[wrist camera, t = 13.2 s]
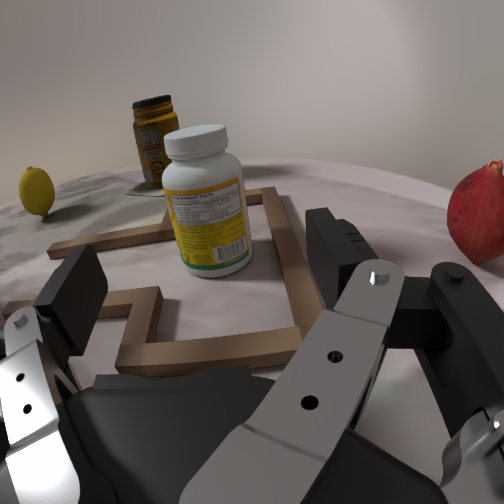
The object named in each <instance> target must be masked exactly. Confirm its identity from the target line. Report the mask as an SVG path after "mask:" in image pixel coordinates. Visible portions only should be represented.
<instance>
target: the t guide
mask: <svg viewBox="0 0 504 504" xmlns="http://www.w3.org/2000/svg"><path fill="white" fill-rule="evenodd" d="M245 196H246V203H247V205H250V204H258V203H263V205H264V209H265V213H266V216H267V220H268V223H269V227H270V231H271V234H272V238H273V242H274V246H275V249H276V253H277V257H278V260H279V264H280V268H281V272H282V276H283V279H284V283H285V287H286V291H287V295H288V298H289V302H290V306H291V310H292V314H293V318H294V322H295V326H296V327H289V328H283V329H276V330H269V331H262V332H255V333H247V334H239V335H231V336H223V337H214V338H204V339H194V340H184V341H172V342H160V343H154V339H155V334H156V329H157V324H158V319H159V315H160V310H161V305H162V301H163V296H162V293H161V290H160V287H159V286H154V287H146V288H137V289H129V290H120V291H111V292H107V295H106V298H105V300H104V302H103V305H102V307H101V310H100V312H99V315H98V317H97V318H110V317H122V316H129V318H128V321H127V324H126V327H125V331H124V334H123V338H122V341H121V344H120V348H119V352H118V355H117V359H116V362H115V368H116V369H117V371H118V372H119V374H131V375H136V376H141V377H162V376H180V375H189V374H192V373H195V372H199V371H202V370H205V369H211V368H220V367H229V366H237V365H245V364H249V368H250V369H253V368H261V367H268V366H275V365H282V364H288V363H289V362H290V360H291V359H292V357H293V356H294V354H295V352H296V351H297V349H298V348H299V346H300V345H301V343H302V342H303V340H304V339H305V337H306V335H307V334H308V332H309V331H310V329H311V328H312V326H313V324H314V323H315V321H316V320H317V318H318V316H319V315H320V313H321V312H322V311H323V308H322V305H321V302H320V299H319V297H318V294H317V291H316V289H315V286H314V283H313V281H312V278H311V276H310V273H309V270H308V268H307V265H306V263H305V260H304V258H303V255H302V252H301V250H300V247H299V245H298V242H297V240H296V237H295V235H294V232H293V230H292V227H291V225H290V222H289V220H288V217H287V215H286V213H285V210H284V208H283V205H282V203H281V200H280V198H279V196H278V193H277V191H276V188H275V187H267V188H259V189H252V190H245ZM171 239H176V238H175V234H174V229H173V226H172V222H171V218H170V214H169V210H168V208H167V210H166V213H165V215H164V218H163V221H162V223H160V224H154V225H148V226H142V227H137V228H131V229H125V230H120V231H114V232H109V233H103V234H98V235H93V236H87V237H82V238H77V239H72V240H67V241H62V242H57V243H53V244H52V245H51V246H50V247H49V249H48V250H47V253H48V255H49V258H50V259H55V258H61V257H66V256H67V255H68V253H69V252H70V251H71V249H72V248H74V247H79V246H84V245H91V246H92V247H93V248H94V250H95V252H96V251H102V250H108V249H114V248H120V247H126V246H132V245H139V244H145V243H151V242H158V241H164V240H171ZM34 302H35V300H26V301H15V302H9V303H8V305H7V306H6V308H5V309H4V311H3V313H2V315H3V317H4V318H5V320H6V321H7V320H8V318H9V317H10V316H11V315H12V314H13V313H14V312H16V311H17V310H19V309H21V308H23V307H27V306H31V307H32V305H33V303H34Z"/></svg>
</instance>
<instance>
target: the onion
mask: <svg viewBox="0 0 504 504" xmlns="http://www.w3.org/2000/svg"><path fill="white" fill-rule="evenodd" d="M502 169H503V163H502V161H501V160H498V159H493V160H491V161H490V162H489V163H488V164H487V165H485V166H483V167H482V168H481V169H478V170H476V171H474V172H472V173H471V174H469V175H468V176H466V177H465V178H464V179H463V180H462V181H461V182H460V183H459V184H458V185H457V187H456V188H455V190H454V191H453V193H452V195H451V198H450V201H449V205H448V212H447V226H448V230H449V233H450V236H451V237H452V239H453V240H454V242H455V243H456V245H457V246H458V248H459V249H460V250H461V252H462V253H463V254H464V255H465V256H466V257H467V258H468V259H469V260H470V261H471V262H472V263H475V264H480V263H482V262H484V261H487V260H491V259H494V258H497V257H499V256H501V255H503V254H504V176H503V175H502Z"/></svg>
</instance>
